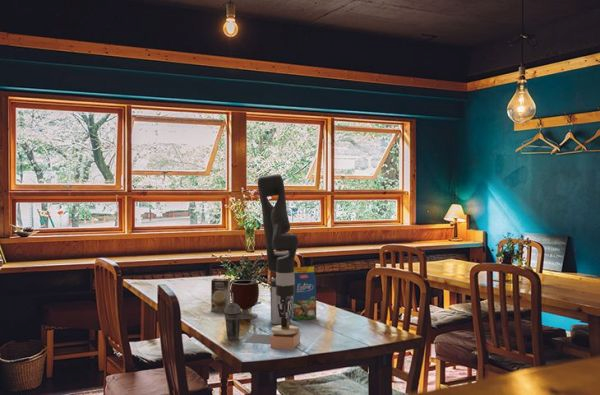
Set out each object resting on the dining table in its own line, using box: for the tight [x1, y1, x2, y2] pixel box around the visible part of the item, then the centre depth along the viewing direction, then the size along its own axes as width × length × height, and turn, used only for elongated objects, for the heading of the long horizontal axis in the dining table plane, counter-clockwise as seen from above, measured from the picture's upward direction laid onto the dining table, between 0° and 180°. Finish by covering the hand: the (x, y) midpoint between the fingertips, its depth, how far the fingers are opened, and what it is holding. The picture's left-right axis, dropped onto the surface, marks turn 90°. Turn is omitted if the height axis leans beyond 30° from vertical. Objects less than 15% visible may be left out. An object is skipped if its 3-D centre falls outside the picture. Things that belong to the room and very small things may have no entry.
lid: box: [271, 313, 300, 335], centre depth 239 cm, size 11×11×7 cm
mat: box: [243, 333, 272, 345], centre depth 249 cm, size 14×14×1 cm
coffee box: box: [210, 278, 231, 312], centre depth 309 cm, size 9×6×16 cm
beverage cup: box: [223, 293, 242, 341], centre depth 249 cm, size 7×7×20 cm
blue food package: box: [290, 266, 317, 321], centre depth 290 cm, size 6×12×25 cm, turn 111°
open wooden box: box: [269, 331, 301, 350], centre depth 239 cm, size 10×10×5 cm
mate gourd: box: [230, 276, 261, 320], centre depth 294 cm, size 16×14×20 cm
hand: (285, 325), depth 239 cm, fingers closed on lid, 3 cm apart
